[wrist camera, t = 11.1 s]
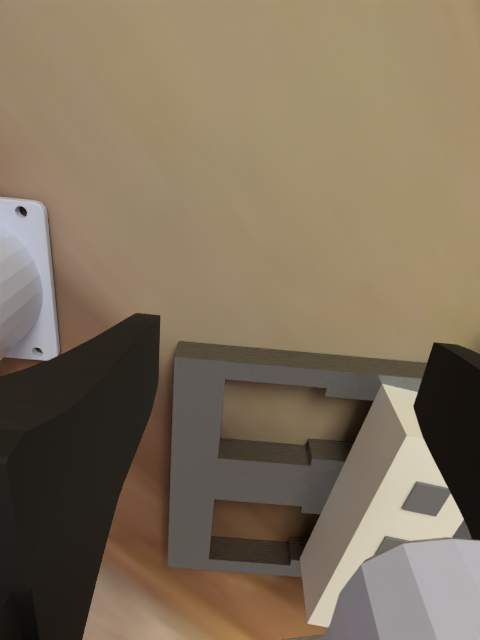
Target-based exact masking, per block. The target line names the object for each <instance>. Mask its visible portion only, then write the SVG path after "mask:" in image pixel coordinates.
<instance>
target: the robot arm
mask: <svg viewBox="0 0 480 640" xmlns="http://www.w3.org/2000/svg"><path fill="white" fill-rule="evenodd" d="M20 206H22V207H24V208H25V209H26V211H27V216H23V215H22V214H21V213H20V211H19V207H20ZM159 341H160V315H151V314H141V313H136V314H134V315H132V316H130V317H128V318H126V319H125V320H123V321H121V322H120V323H118V324H117V325H115V326H113V327H112V328H110V329H108V330H106V331H105V332H103V333H101V334H100V335H98V336H96V337H94V338H93V339H91V340H89V341H87V342H85V343H83V344H81V345H79V346H77V347H75V348H73V349H71V350H69V351H67V352H65V353H63V354H61V355H59V354H60V345H59V334H58V323H57V312H56V301H55V290H54V279H53V268H52V258H51V247H50V236H49V225H48V214H47V210H46V207H45V206H44V205H43V204H42V203H41V202H39V201H36V200H27V199H17V198H6V197H0V361H1V360H2V358H3V357H8V358H19V359H31V360H42V361H45V362H42V363H40V364H37V365H34V366H32V367H29V368H26V369H24V370H20V371H17V372H14V373H11V374H7V375H4V376H1V377H0V640H82V638H83V634H84V630H85V625H86V621H87V617H88V613H89V609H90V605H91V601H92V597H93V593H94V589H95V585H96V581H97V577H98V573H99V569H100V565H101V561H102V557H103V553H104V550H105V546H106V542H107V538H108V534H109V531H110V527H111V523H112V520H113V516H114V512H115V509H116V505H117V501H118V498H119V495H120V492H121V489H122V486H123V483H124V481H125V478H126V476H127V473H128V471H129V468H130V466H131V463H132V461H133V458H134V455H135V453H136V450H137V448H138V445H139V443H140V440H141V438H142V435H143V433H144V430H145V427H146V425H147V422H148V420H149V417H150V414H151V411H152V407H153V403H154V399H155V395H156V390H157V386H158V376H159ZM36 347H37V348H40V349H41V350H42V352H43V353H40V352H38V351H37V350H36ZM58 355H59V356H58ZM413 407H414V411H415V414H416V418H417V421H418V424H419V427H420V430H421V433H422V436H423V439H424V441H425V443H426V445H427V447H428V449H429V451H430V453H431V455H432V457H433V459H434V461H435V463H436V465H437V467H438V469H439V471H440V473H441V475H442V477H443V479H444V481H445V483H446V485H447V487H448V489H449V491H450V493H451V495H452V497H453V498H454V500H455V502H456V504H457V506H458V508H459V510H460V512H461V514H462V517H463V519H464V521H465V523H466V525H467V528H468V530H469V532H470V535H471V538H472V539H462V538H450V537H444V538H434V539H424V540H413V541H403V542H401V543H398V544H396V545H394V546H392V547H390V548H388V549H386V550H384V551H382V552H380V553H378V554H376V555H374V556H372V557H370V558H368V559H366V560H365V561H364V562H363V563H362V564H361V565H360V566H359V567H358V569H357V570H356V571H355V573H354V574H353V576H352V577H351V578H350V580H349V581H348V582H347V584H346V585H345V586H344V588H343V589H342V590H341V592H340V593H339V596H338V600H337V603H336V606H335V610H334V613H333V616H332V619H331V623H330V625H329V627H328V629H327V631H326V633H325V634H321V635H313V636H305V637H298V638H290V639H283V640H480V354H478V353H476V352H474V351H472V350H469V349H467V348H465V347H462V346H459V345H455V344H445V343H435V342H434V344H433V347H432V350H431V353H430V356H429V359H428V362H427V365H426V368H425V371H424V375H423V378H422V381H421V384H420V387H419V390H418V393H417V396H416V399H415V402H414V405H413Z"/></svg>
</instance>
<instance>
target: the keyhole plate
mask: <svg viewBox="0 0 480 640" xmlns="http://www.w3.org/2000/svg"><path fill="white" fill-rule="evenodd" d="M426 365H427V363H419V362H408V361H396V360H385V359H374V358H362V357H351V356H340V355H329V354H317V353H306V352H295V351H283V350H272V349H261V348H249V347H238V346H227V345H215V344H204V343H193V342H182V341H179V343H178V346H177V350H176V353H175V356H174V382H173V413H172V443H171V474H170V504H169V535H168V565H167V567H174V568H187V569H200V570H213V571H226V572H239V573H252V574H265V575H278V576H291V577H302V573H301V564H300V557H301V555H302V553H303V551H304V548H305V546H306V544H307V542H308V540H309V539H305V538H292V537H289V541H288V543H286V542H273V541H260V540H248V539H235V538H222V537H211V529H212V518H213V507H214V499H216V500H228V501H241V502H253V503H265V504H278V505H290V506H300V508H301V513H309V514H321V512H322V510H323V508H324V506H325V504H326V502H327V500H328V497H329V495H330V493H331V491H332V489H333V487H334V485H335V482H336V480H337V478H338V476H339V474H340V472H341V470H342V468H343V465H344V463H345V461H346V459H347V457H348V455H349V453H350V451H351V448H352V446H353V444H354V443H352V442H340V441H328V440H316V439H309V440H308V445H307V446H304V445H292V444H280V443H268V442H256V441H244V440H232V439H220V430H221V419H222V408H223V397H224V386H225V379H227V380H238V381H250V382H262V383H273V384H285V385H296V386H308V387H319V388H323V390H324V394H325V397H335V398H347V399H358V400H370V401H374V399H375V397H376V395H377V393H378V391H379V389H380V387H381V385H382V384H385V385H390V386H394V387H398V388H402V389H407V390H411V391H415V392H418V390H419V387H420V384H421V381H422V378H423V375H424V371H425V368H426ZM452 538H462V539H472V538H471V535H470V532H469V530H468V528H467V525H466V523H465V521H464V520H463V522H462V523H461V525H460V526H459V528H458V529H457V531H456V532H455V534H454V535H453V537H452Z"/></svg>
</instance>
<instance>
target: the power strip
mask: <svg viewBox="0 0 480 640" xmlns="http://www.w3.org/2000/svg"><path fill="white" fill-rule="evenodd" d="M417 393H418V392H415V391H411V390H407V389H402V388H398V387H394V386H390V385H385V384H382V385H381V387H380V389H379V391H378V393H377V395H376V397H375V399H374V402H373V404H372V406H371V408H370V410H369V412H368V414H367V416H366V419H365V421H364V423H363V425H362V427H361V429H360V431H359V434H358V436H357V438H356V440H355V442H354V444H353V446H352V448H351V451H350V453H349V455H348V457H347V459H346V461H345V463H344V465H343V468H342V470H341V472H340V474H339V476H338V478H337V480H336V482H335V485H334V487H333V489H332V491H331V493H330V495H329V497H328V500H327V502H326V504H325V506H324V508H323V510H322V512H321V514H320V517H319V519H318V521H317V523H316V525H315V527H314V529H313V531H312V534H311V536H310V538H309V540H308V542H307V544H306V546H305V548H304V551H303V553H302V555H301V557H300V564H301V573H302V582H303V591H304V600H305V608H306V617H307V624H313V625H318V626H324V627H329V625H330V623H331V619H332V616H333V613H334V610H335V606H336V603H337V600H338V596H339V593H340V592H341V590H342V589H343V588H344V586H345V585H346V584H347V582H348V581H349V580H350V578H351V577H352V576H353V574H354V573H355V571H356V570H357V569H358V567H359V566H360V565H361V564H362V563H363V562H364V561H365V560H366V559H368V558H370V557H372V556H374V555H376V554H378V553H380V552H382V551H384V550H386V549H388V548H390V547H392V546H394V545H396V544H398V543H401V542H403V541H413V540H424V539H434V538H444V537H450V538H452V537H453V535H454V534H455V532H456V531H457V529H458V528H459V526H460V525H461V523H462V522H463V520H464V519H463V517H462V514H461V512H460V510H459V508H458V506H457V504H456V502H455V500H454V498H453V497H452V495H451V493H450V491H449V489H448V487H447V485H446V483H445V481H444V479H443V477H442V475H441V473H440V471H439V469H438V467H437V465H436V463H435V461H434V459H433V457H432V455H431V453H430V451H429V449H428V447H427V445H426V443H425V441H424V439H423V436H422V433H421V430H420V427H419V424H418V421H417V418H416V414H415V411H414V407H413V405H414V402H415V399H416V396H417Z"/></svg>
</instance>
